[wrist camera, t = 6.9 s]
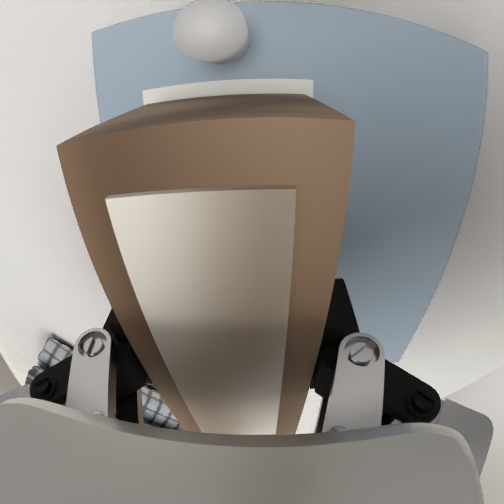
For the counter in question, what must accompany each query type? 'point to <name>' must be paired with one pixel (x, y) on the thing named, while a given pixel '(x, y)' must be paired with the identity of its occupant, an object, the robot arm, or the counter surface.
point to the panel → (346, 102)
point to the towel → (152, 401)
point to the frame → (218, 246)
